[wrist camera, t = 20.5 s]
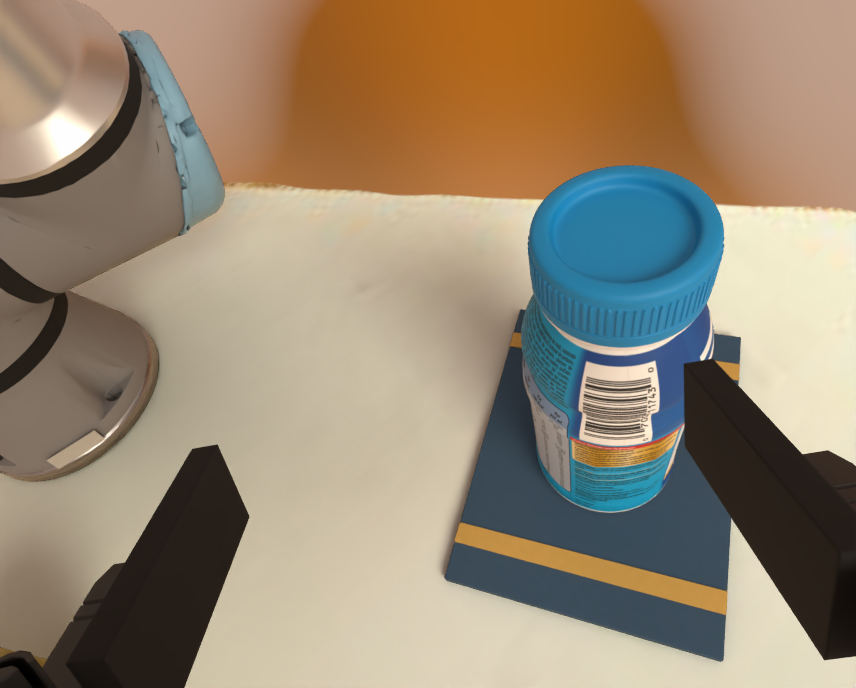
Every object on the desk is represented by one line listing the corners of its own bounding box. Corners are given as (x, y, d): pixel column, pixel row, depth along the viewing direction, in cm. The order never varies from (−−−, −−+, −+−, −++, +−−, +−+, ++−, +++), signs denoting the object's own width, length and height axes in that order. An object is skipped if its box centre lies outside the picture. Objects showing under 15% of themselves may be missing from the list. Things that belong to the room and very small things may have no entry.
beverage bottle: (507, 455, 38) (455, 244, 22) (591, 370, 40) (601, 119, 24) (616, 548, 34) (652, 369, 17) (704, 446, 36) (809, 202, 20)
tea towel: (520, 313, 45) (520, 308, 44) (739, 342, 40) (741, 336, 39) (446, 580, 35) (443, 578, 35) (721, 661, 30) (723, 660, 30)
